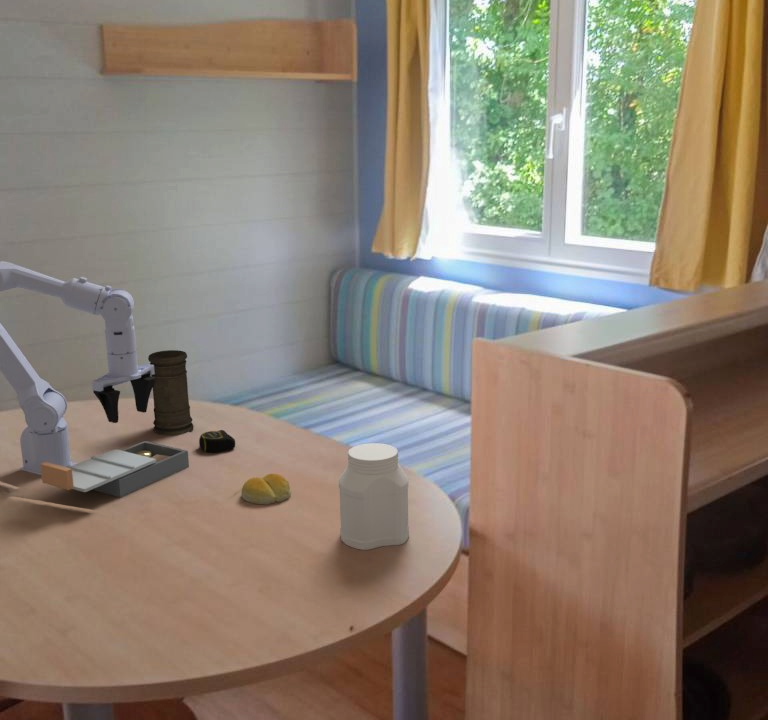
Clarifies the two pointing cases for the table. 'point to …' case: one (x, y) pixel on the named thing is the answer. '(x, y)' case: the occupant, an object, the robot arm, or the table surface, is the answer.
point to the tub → (147, 469)
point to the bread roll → (266, 489)
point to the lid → (94, 470)
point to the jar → (373, 498)
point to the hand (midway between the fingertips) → (127, 416)
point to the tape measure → (216, 441)
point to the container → (170, 393)
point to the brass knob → (144, 454)
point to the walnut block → (159, 458)
